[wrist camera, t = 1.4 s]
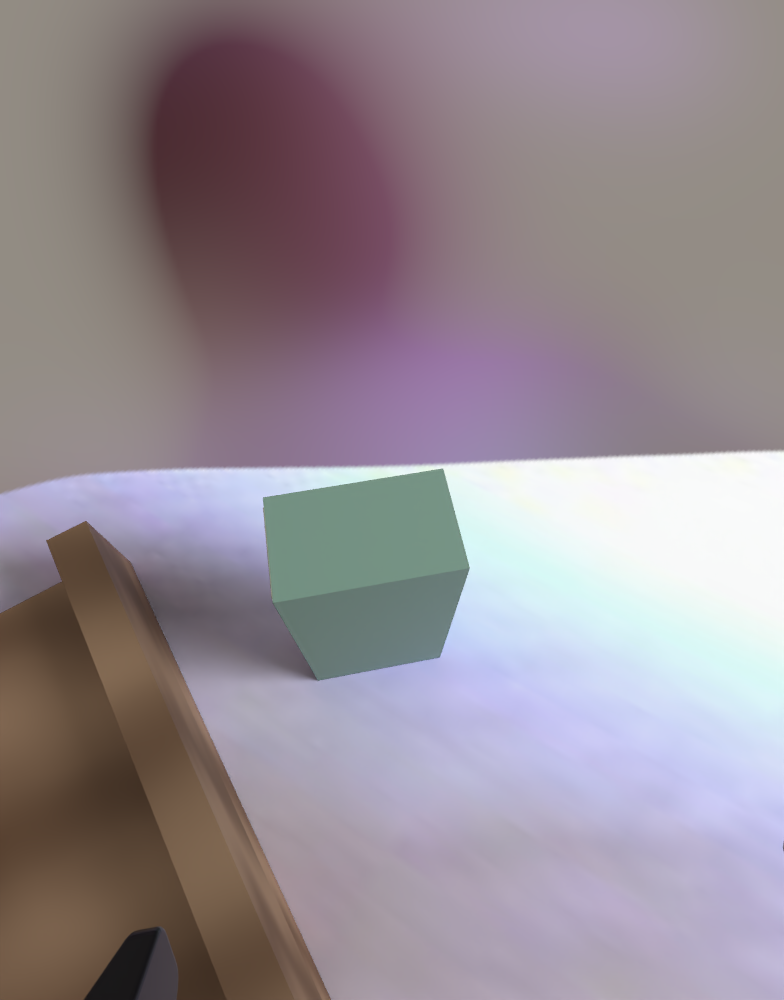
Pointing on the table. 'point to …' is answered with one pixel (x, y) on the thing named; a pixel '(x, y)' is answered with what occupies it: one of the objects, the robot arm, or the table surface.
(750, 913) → the table surface
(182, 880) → the tray
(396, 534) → the book
